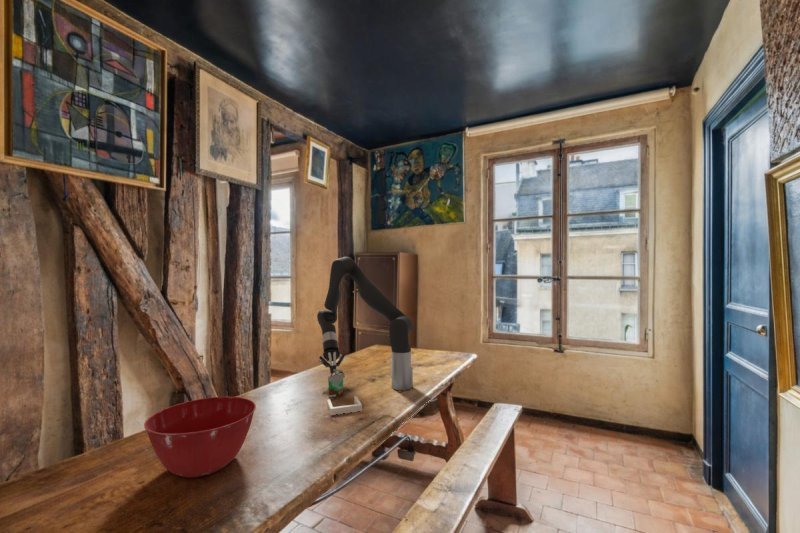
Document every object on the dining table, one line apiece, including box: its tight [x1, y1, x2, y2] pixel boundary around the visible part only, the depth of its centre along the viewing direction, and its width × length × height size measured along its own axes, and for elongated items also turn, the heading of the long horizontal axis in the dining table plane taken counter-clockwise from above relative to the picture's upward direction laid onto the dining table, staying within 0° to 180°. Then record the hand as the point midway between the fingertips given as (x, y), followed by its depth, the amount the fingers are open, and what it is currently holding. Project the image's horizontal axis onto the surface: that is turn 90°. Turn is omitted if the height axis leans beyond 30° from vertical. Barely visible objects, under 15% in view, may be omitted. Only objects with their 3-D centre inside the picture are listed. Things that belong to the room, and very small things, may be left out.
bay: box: [326, 395, 363, 416], centre depth 150 cm, size 12×10×2 cm
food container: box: [327, 368, 346, 399], centre depth 165 cm, size 12×6×10 cm, turn 179°
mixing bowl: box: [143, 396, 257, 479], centre depth 108 cm, size 28×28×16 cm
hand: (333, 373), depth 176 cm, fingers closed
